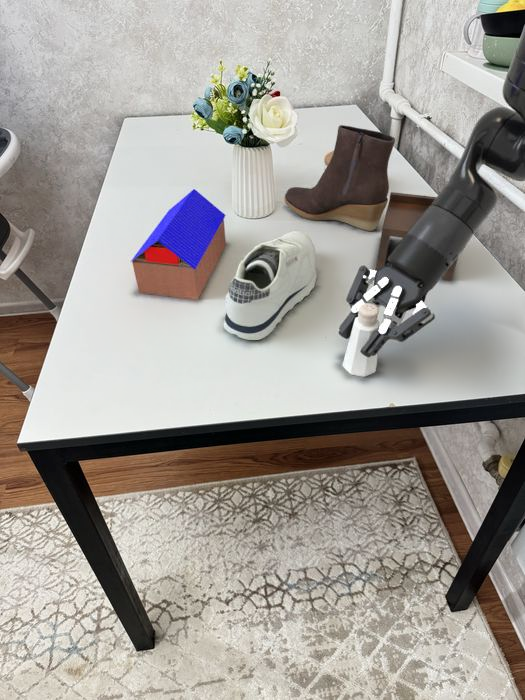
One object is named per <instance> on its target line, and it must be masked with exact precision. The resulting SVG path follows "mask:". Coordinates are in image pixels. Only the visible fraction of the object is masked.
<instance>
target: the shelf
mask: <svg viewBox="0 0 525 700" xmlns="http://www.w3.org/2000/svg"><path fill="white" fill-rule="evenodd" d="M436 198H437V196H430V195H420V194H414V193H413V194H412V193H403V192H402V193H401V192H393V191H391V192H390V193H389V198H388V203H387V208H386V212H385V216H384V221H383V223H382V228H381V235H380V239H379V247H378V252H377V259H376V265H375V271H377V270H378V269H380V268H382V267H383V266H384V265H385V264H386V262H387V258H388V257H387V256H388V253H389V247H390V242H391V238H401V239H403V238H404V236H405V235H406V234H407V232H408V231H409V230H410V228H411V227H412V226H413V224H414V223H415V222H416V221H417V219H418V218H419V217H420V216H421V215H422V214H423V213H424V212H425V211H426V210H427V209H428V208H429V206H431V204H432V203H433V202H434V200H435V199H436ZM458 259H459V257H458V258H457V260H456V261H455V262H453V264H452V265H451V266H450V267H449V269H448V270H447V271H446V272H445V274H444V275H443V276H442V280H443V281H447V282H452V279H453V276H454V272H455V269H456V266H457V262H458Z"/></svg>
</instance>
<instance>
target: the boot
mask: <svg viewBox="0 0 525 700" xmlns="http://www.w3.org/2000/svg"><path fill="white" fill-rule="evenodd" d="M336 134H337V135H336V140H335V144H334V149H333V151H334V153H333V156H332V158H331V160H330V162H329V164H328V166H327V168H326V169H325V171H324V170H323V173H322V174H321V176H320V178H319V179H318V181H317V183H316V184H315V186H313V187H311V188H309V187H302V186H292V187H289V188H288V189H287V190H286V193H285V194H284V202H285V204H286V206H287V207H288V208H289V209H290V210H291V211H293V213H296V214H297V215H299V216H300V217H303V218H304V219H308V220H312V221H329V220H330V221H338V222H342V223H345V224H348V225H351V226H353V227H355V228H357V229H360V230H362V231H367V232H372V231H375V230H376V229H377V227H378V225H379V223H380V221H381V218H382V215H383V213H384V211H385V208H386V206H388V203H389V198H388V195H389V191H390V189H389V188H390V183H389V176H388V169H389V161H390V157H391V155H392V152H393V149H394V145H395V142H396V138H395V137H393V136H391V135H389V134H387V133H384V132H382V131H378V130H377V131H376V130H371V129H367V128H361V127H355V126H350V125H345V124H344V125H343V124H341V125H340V124H339V125H338V127H337V133H336Z"/></svg>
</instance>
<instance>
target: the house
mask: <svg viewBox="0 0 525 700" xmlns="http://www.w3.org/2000/svg"><path fill="white" fill-rule="evenodd" d="M225 219H226V214H225V213H224V212H223V211H221V210H220V209H219V208H218V207H217V206H215V205H214V204H213V203H212V202H210V200H208V199H207V198H206V197H205V196H204V195H202V194H201V193H200V192H199V191H198V190H196V189H195V188H193V189H192V190H190V191H189V192H188V193H187V194H186V195H185V196H183V198H181V199H180V200H179V201H178V202H177V203H176V204H174V205H173V206H172V207H171V208H170V209H168V211H167V212H166V214H165V215H164V216H163V218H162V219H161V220H160V222H158V224H157V226H156V227H155V228H154V230H153V231H152V232H151V233H150V235H149V236H148V237H147V239H146V240H145V241H144V243H143V244H142V245H141V246H140V248H139V250H138V251H137V252H136V253H135V254H134V256H133V257H132V259H131V260H130V262H131V263H132V267H133V271H134V276H135V280H136V284H137V289H138V293H139V294H146V295H155V296H163V297H171V298H179V299H191V300H197V301H198V300H199V298H200V296H201V294H202V293H203V291H204V288H206V285H207V283H208V282H209V279H210V277H211V275H212V273H213V272H214V269H215V267H216V265H217V263H218V261H219V259H220V257H221V255H222V253H223V251H224V249H225V247H226V245H227V243H226V230H225Z"/></svg>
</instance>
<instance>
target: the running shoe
mask: <svg viewBox="0 0 525 700" xmlns="http://www.w3.org/2000/svg"><path fill="white" fill-rule="evenodd" d="M316 262H317V253H316V247H315V244H314V242H313V240H312V238H311V237H310V236H309V235H308V234H307V233H305V232H302V231H298V230H295V231H290V232H287V233H285V234H283V235H281V236H280V237H277V238H274V239H272V240H269V241H266V242H265V241H263V242H261V243H259V244H257V245H255V246H254V247H253V249H251V250H250V251H249V252H248V253H247V254H246V255H245V256H244V257H243V259H242V260H241V262H239V264H238V266H237V269H236V273H235V276H233V278H232V279H231V283H230V284H229V286H228V291H227V292H226V296H225V299H224V300H225V301H224V309H225V316H224V320H223V323H222V324H223V328H224V330H225V331H227V332H228V333H229V334H231V335H235V336H237V337H238V338H240V339H242V340H249V341H256V340H257V341H259V340H262V339H265V338H266V337H267V336H269V335H270V333H272V332H273V331H274V330H275V329H276V326H277V325H278V324H279V323H281V322H282V318H283V317H285V315H286V314H287V313H288V312H289V311H291V310H292V309H294V306H295V305H297V303H301V302H302V301H303V300H304V299H305V297H308V296H309V295H310V294H311V291H312V290H314V288H315V286H316V281H317V279H318V276H317V265H316V264H317V263H316Z"/></svg>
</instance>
